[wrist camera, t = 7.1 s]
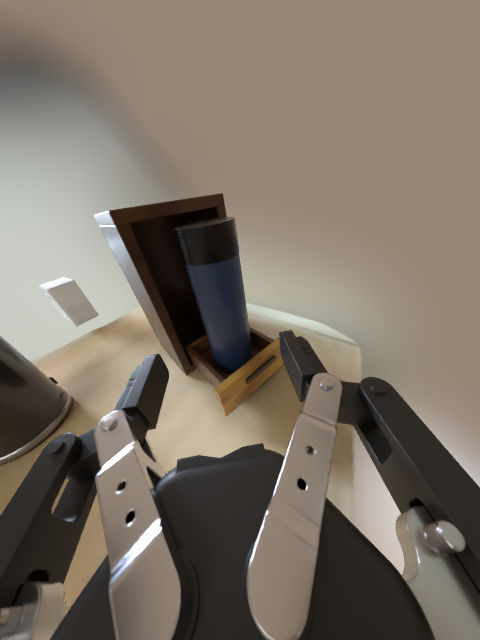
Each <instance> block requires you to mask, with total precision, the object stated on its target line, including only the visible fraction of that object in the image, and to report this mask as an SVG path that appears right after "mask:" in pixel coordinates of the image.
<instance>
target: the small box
mask: <svg viewBox="0 0 480 640" xmlns="http://www.w3.org/2000/svg"><path fill="white" fill-rule="evenodd" d="M39 287H40V288H41V290H42V291H43V292H44V293H45V294H46V296H47V297H48V298H49V299H50V300H51V301H52V303H53V304H54V305H55V306H56V307H57V309H58V310H59V311H60V312H61V313H62V315H63V316H64V317H65V318H66V319H67V320H68V321H70V322H71V323H73V324H74V325H76V326H78V325H80V324H82V323H84V322H86V321H88V320H90V319H92V318H94V317H96V316H98V313H97V312H96V311H95V309H94V308H93V306H92V305H91V303H90V302H89V301H88V299H87V298H86V297H85V295H84V294H83V292H82V291H81V289H80V288H79V287H78V285H77V284H76V282H75V281H74V280H71V279H68V278H60V279H57V280H54V281H51V282H48V283H45V284H42V285H39Z"/></svg>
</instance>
